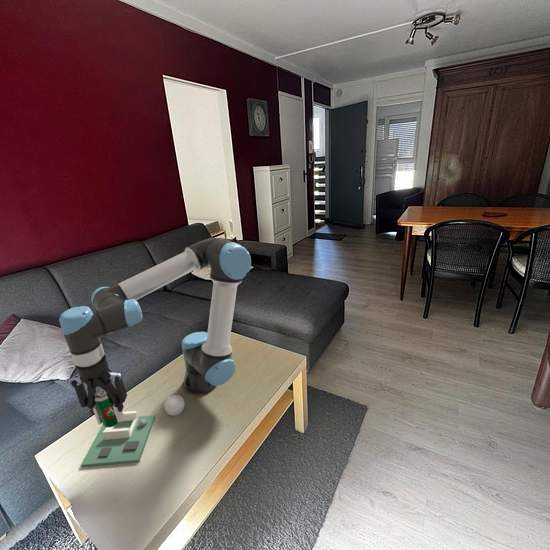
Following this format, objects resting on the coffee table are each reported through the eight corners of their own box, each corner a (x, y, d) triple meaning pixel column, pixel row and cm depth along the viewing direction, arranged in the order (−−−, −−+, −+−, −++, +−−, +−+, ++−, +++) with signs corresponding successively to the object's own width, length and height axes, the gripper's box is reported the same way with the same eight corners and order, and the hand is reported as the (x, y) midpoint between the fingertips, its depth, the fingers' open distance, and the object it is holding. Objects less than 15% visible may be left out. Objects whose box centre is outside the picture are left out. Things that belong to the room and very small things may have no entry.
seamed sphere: (188, 405, 120) (185, 390, 117) (181, 420, 113) (179, 405, 110) (163, 404, 121) (160, 389, 118) (156, 419, 114) (152, 404, 111)
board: (155, 417, 115) (153, 408, 113) (139, 462, 98) (136, 452, 96) (106, 421, 114) (103, 411, 112) (81, 467, 97) (77, 457, 95)
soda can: (107, 416, 97) (96, 387, 92) (123, 414, 98) (114, 385, 93) (100, 429, 92) (89, 400, 88) (117, 427, 93) (107, 397, 88)
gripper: (127, 347, 90) (144, 406, 99) (63, 354, 88) (86, 413, 97) (118, 364, 83) (137, 425, 92) (48, 371, 81) (74, 433, 90)
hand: (111, 419), depth 94 cm, fingers closed on soda can, 5 cm apart
